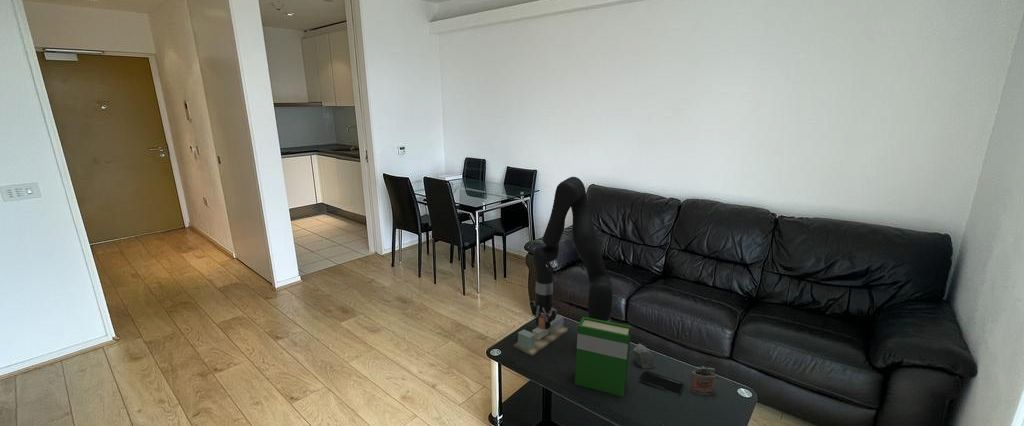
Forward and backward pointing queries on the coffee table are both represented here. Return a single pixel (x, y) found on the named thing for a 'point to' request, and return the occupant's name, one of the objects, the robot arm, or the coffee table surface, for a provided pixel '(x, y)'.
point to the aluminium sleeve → (556, 324)
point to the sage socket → (526, 340)
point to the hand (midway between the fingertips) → (543, 326)
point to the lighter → (703, 381)
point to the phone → (661, 383)
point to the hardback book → (602, 355)
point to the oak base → (543, 342)
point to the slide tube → (541, 328)
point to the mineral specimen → (643, 356)
